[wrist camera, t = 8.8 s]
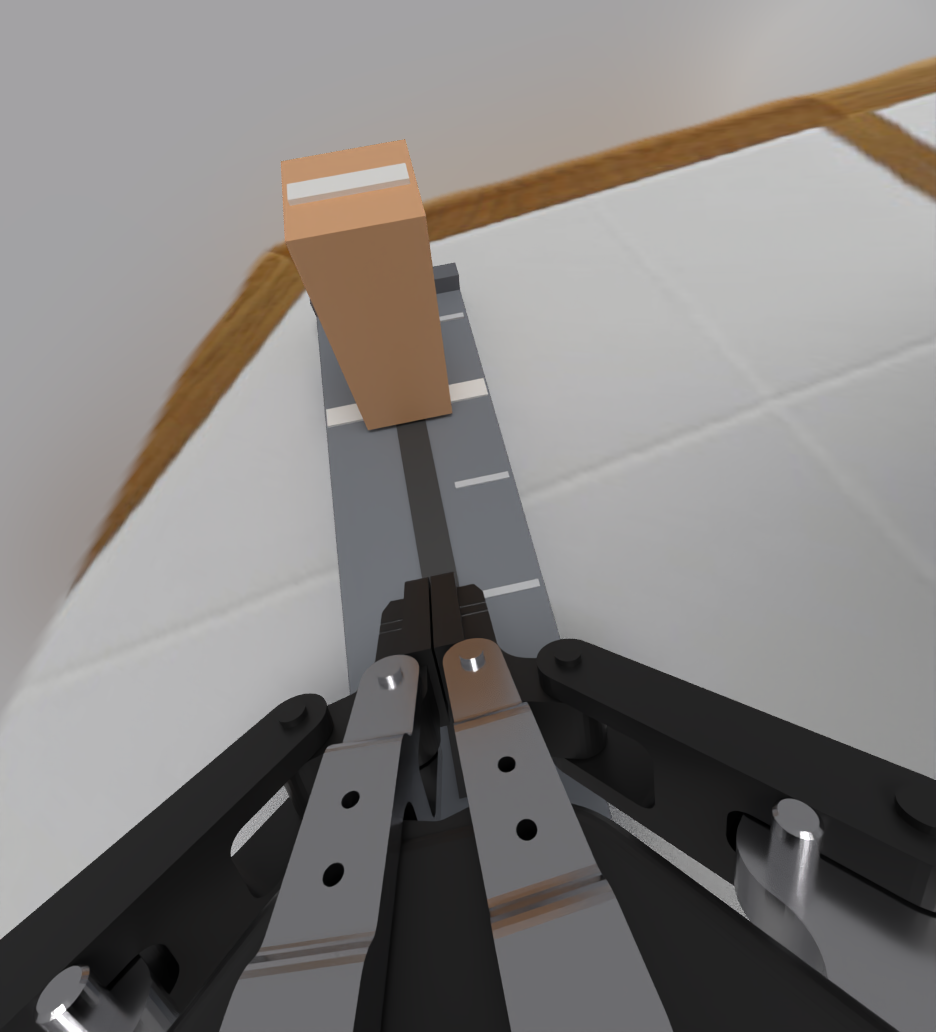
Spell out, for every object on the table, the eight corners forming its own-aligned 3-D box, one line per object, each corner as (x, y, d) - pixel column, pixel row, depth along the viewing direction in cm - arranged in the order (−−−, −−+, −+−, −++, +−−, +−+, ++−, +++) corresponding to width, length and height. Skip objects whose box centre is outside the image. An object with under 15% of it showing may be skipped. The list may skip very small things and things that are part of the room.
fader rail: (324, 325, 26) (309, 290, 24) (458, 300, 26) (455, 262, 24) (377, 862, 15) (358, 887, 13) (601, 809, 16) (619, 825, 13)
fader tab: (359, 365, 22) (278, 155, 14) (437, 350, 22) (404, 133, 14) (368, 430, 21) (282, 236, 12) (452, 413, 21) (425, 210, 12)
